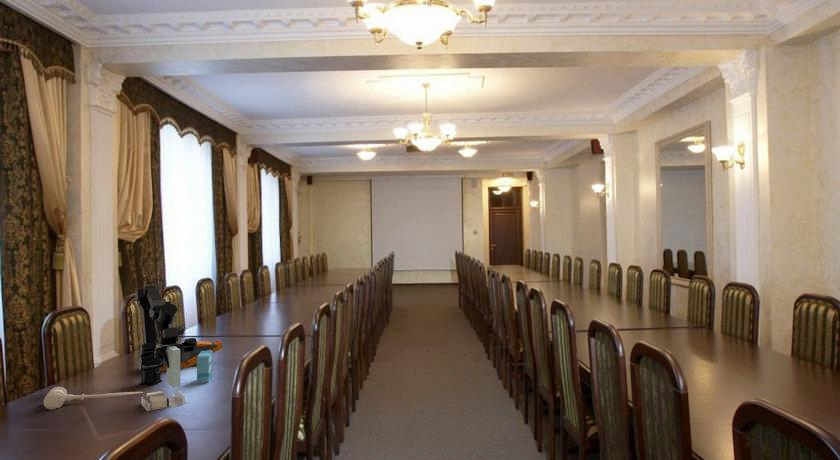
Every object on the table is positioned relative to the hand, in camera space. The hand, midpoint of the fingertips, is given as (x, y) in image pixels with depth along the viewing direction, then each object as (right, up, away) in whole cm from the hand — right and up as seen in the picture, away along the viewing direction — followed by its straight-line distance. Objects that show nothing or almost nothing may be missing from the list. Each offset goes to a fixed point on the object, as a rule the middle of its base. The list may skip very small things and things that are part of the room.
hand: (172, 366), depth 188 cm
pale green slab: (0, -6, 0) cm, 6 cm away
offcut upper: (-4, -11, -4) cm, 12 cm away
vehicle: (-21, -14, +56) cm, 62 cm away
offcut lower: (-4, -12, -4) cm, 14 cm away
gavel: (-30, -14, +4) cm, 33 cm away
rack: (-2, -13, -3) cm, 14 cm away
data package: (0, -14, +29) cm, 32 cm away
